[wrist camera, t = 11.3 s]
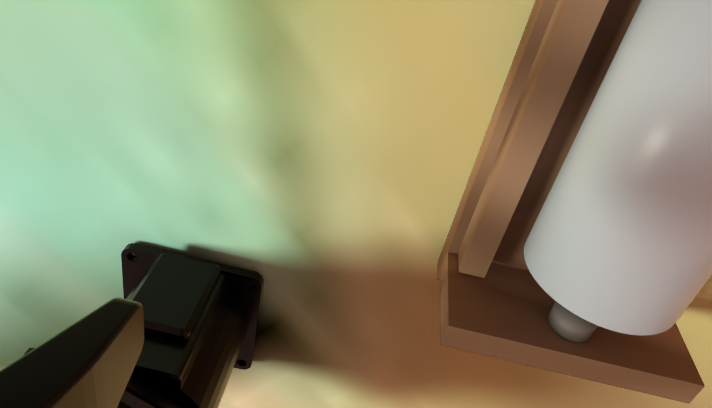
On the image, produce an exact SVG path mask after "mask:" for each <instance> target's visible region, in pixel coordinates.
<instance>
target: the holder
mask: <svg viewBox="0 0 712 408" xmlns="http://www.w3.org/2000/svg"><path fill="white" fill-rule="evenodd" d="M640 2H641V0H536V1H535V4H534V7H533V9H532V12H531V15H530V17H529V20H528V23H527V25H526V28H525V31H524V33H523V36H522V39H521V41H520V44H519V47H518V49H517V52H516V55H515V57H514V60H513V63H512V66H511V68H510V71H509V74H508V76H507V79H506V82H505V84H504V87H503V90H502V92H501V95H500V98H499V100H498V103H497V106H496V108H495V111H494V114H493V116H492V119H491V122H490V124H489V127H488V130H487V132H486V135H485V138H484V140H483V143H482V146H481V148H480V151H479V154H478V156H477V159H476V162H475V164H474V167H473V170H472V173H471V175H470V178H469V181H468V183H467V186H466V189H465V191H464V194H463V197H462V199H461V202H460V205H459V207H458V210H457V213H456V215H455V218H454V221H453V223H452V226H451V229H450V231H449V234H448V237H447V239H446V242H445V245H444V247H443V250H442V253H441V255H440V258H439V261H438V264H437V279H439V280H441V298H440V345H443V346H447V347H451V348H455V349H460V350H464V351H468V352H472V353H477V354H481V355H485V356H489V357H494V358H498V359H502V360H506V361H510V362H515V363H519V364H523V365H527V366H532V367H536V368H540V369H544V370H549V371H553V372H557V373H561V374H566V375H570V376H574V377H578V378H583V379H587V380H591V381H595V382H600V383H604V384H608V385H612V386H617V387H621V388H625V389H629V390H634V391H638V392H642V393H646V394H651V395H655V396H659V397H663V398H668V399H672V400H676V401H680V402H685V403H690V402H691V401H692V400H693V399H694V398H695V396H696V395H697V394H698V393H699V392H700V391H701V390H702V389H703V388H704V384H703V381H702V379H701V377H700V375H699V373H698V371H697V368H696V366H695V364H694V362H693V360H692V358H691V355H690V353H689V351H688V349H687V347H686V345H685V342H684V340H683V338H682V336H681V334H680V332H679V330H678V327H677V325H676V323H675V324H674V325H673V326H672V327H671V328H670V329H668V330H666V331H665V332H662V333H659V334H654V335H630V334H624V333H619V332H616V331H612V330H608V329H606V328H603V327H600V326H598V325H595V324H593V323H591V322H589V321H586V320H584V319H583V318H581V317H579V316H577V315H575V314H574V313H572V312H571V311H569V310H567V309H566V308H564V307H563V306H562V305H560V304H559V303H558V302H556V301H555V300H554V299H553V298H552V297H551V296H550V295H548V294H547V293H546V292H545V291H544V290H543V289H542V287H541V286H540V285H539V284H538V283H537V281H536V280H535V279H534V278H533V276H532V274H531V273H530V271H529V269H528V267H527V265H526V261H525V258H524V245H525V243H526V240H527V238H528V236H529V234H530V232H531V230H532V228H533V226H534V224H535V221H536V219H537V217H538V215H539V213H540V211H541V209H542V207H543V205H544V203H545V201H546V198H547V196H548V194H549V192H550V190H551V188H552V186H553V184H554V182H555V180H556V178H557V176H558V173H559V171H560V169H561V167H562V165H563V163H564V161H565V159H566V157H567V155H568V153H569V150H570V148H571V146H572V144H573V142H574V140H575V138H576V136H577V134H578V132H579V130H580V128H581V125H582V123H583V121H584V119H585V117H586V115H587V113H588V111H589V109H590V107H591V105H592V102H593V100H594V98H595V96H596V94H597V92H598V90H599V88H600V86H601V84H602V82H603V80H604V77H605V75H606V73H607V71H608V69H609V67H610V65H611V63H612V61H613V59H614V57H615V54H616V52H617V50H618V48H619V46H620V44H621V42H622V40H623V38H624V36H625V34H626V32H627V29H628V27H629V25H630V23H631V21H632V19H633V17H634V15H635V13H636V11H637V9H638V6H639V4H640Z"/></svg>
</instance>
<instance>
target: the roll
mask: <svg viewBox="0 0 712 408" xmlns="http://www.w3.org/2000/svg"><path fill="white" fill-rule="evenodd" d="M524 258H525V261H526V265H527V267H528V269H529V271H530V273H531V274H532V276H533V278H534V279H535V280H536V281H537V283H538V284H539V285H540V286H541V287H542V289H543V290H544V291H545V292H546V293H547V294H548V295H550V296H551V297H552V298H553V299H554V300H555V301H556V302H558V303H559V304H560V305H562V306H563V307H564V308H566V309H567V310H569V311H571V312H572V313H574V314H575V315H577V316H579V317H581V318H583V319H584V320H586V321H589V322H591V323H593V324H595V325H598V326H600V327H603V328H606V329H608V330H612V331H616V332H619V333H624V334H630V335H654V334H659V333H662V332H665V331H666V330H668V329H670V328H671V327H672V326H673V325H674V324H675V323H676V321H677V320H678V319H679V318H680V316H681V315H682V314H683V312H684V311H685V310H686V308H687V307H688V306H689V304H690V303H691V302H692V301H693V299H694V298H695V297H696V295H697V294H698V293H699V291H700V290H701V289H702V287H703V286H704V285H705V283H706V282H707V281H708V280H709V278H710V277H711V276H712V0H641V2H640V4H639V6H638V9H637V11H636V13H635V15H634V17H633V19H632V21H631V23H630V25H629V27H628V29H627V32H626V34H625V36H624V38H623V40H622V42H621V44H620V46H619V48H618V50H617V52H616V54H615V57H614V59H613V61H612V63H611V65H610V67H609V69H608V71H607V73H606V75H605V77H604V80H603V82H602V84H601V86H600V88H599V90H598V92H597V94H596V96H595V98H594V100H593V102H592V105H591V107H590V109H589V111H588V113H587V115H586V117H585V119H584V121H583V123H582V125H581V128H580V130H579V132H578V134H577V136H576V138H575V140H574V142H573V144H572V146H571V148H570V150H569V153H568V155H567V157H566V159H565V161H564V163H563V165H562V167H561V169H560V171H559V173H558V176H557V178H556V180H555V182H554V184H553V186H552V188H551V190H550V192H549V194H548V196H547V198H546V201H545V203H544V205H543V207H542V209H541V211H540V213H539V215H538V217H537V219H536V221H535V224H534V226H533V228H532V230H531V232H530V234H529V236H528V238H527V240H526V243H525V245H524Z"/></svg>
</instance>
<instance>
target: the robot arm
mask: <svg viewBox="0 0 712 408" xmlns="http://www.w3.org/2000/svg"><path fill="white" fill-rule="evenodd" d="M132 253H133V254H135V255H136V256H135V255H133V254H132ZM121 257H122V273H123V289H124V299H123V298H114V299H112V300H110V301H109V302H107V303H105V304H104V305H102V306H101V307H99V308H98V309H96V310H94V311H93V312H91V313H90V314H88V315H87V316H85V317H84V318H82V319H80V320H79V321H77V322H76V323H74V324H73V325H71V326H69V327H68V328H66V329H65V330H63V331H62V332H60V333H58V334H57V335H55V336H54V337H52V338H51V339H49V340H47V341H46V342H44V343H43V344H41V345H40V346H38V347H37V348H29V349H28V350H27V351H26V353H25V354H24V355H23V356H22V357H21V358H19V359H18V360H16V361H15V362H13V363H11V364H10V365H8V366H7V367H5V368H4V369H2V370H1V371H0V408H218V406H219V403H220V401H221V398H222V396H223V393H224V390H225V388H226V385H227V383H228V380H229V377H230V375H231V372H232V370H233V367H234V368H239V369H248V368H250V367H251V364H252V362H253V358H254V351H255V344H256V336H257V329H258V322H259V315H260V307H261V300H262V293H263V286H264V279H263V277H262V276H261V275H260V274H259V273H256V272H254V271H249V270H245V269H241V268H237V267H232V266H228V265H224V264H220V263H215V262H211V261H207V260H203V259H198V258H194V257H190V256H186V255H181V254H177V253H173V252H169V251H165V250H160V249H156V248H152V247H148V246H143V245H139V244H133V243H131V244H128V245H127V246H126V247H125V249H124V250H123V251H122V254H121ZM249 281H252V282H254V283H255V284H252V283H250V282H249Z"/></svg>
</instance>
